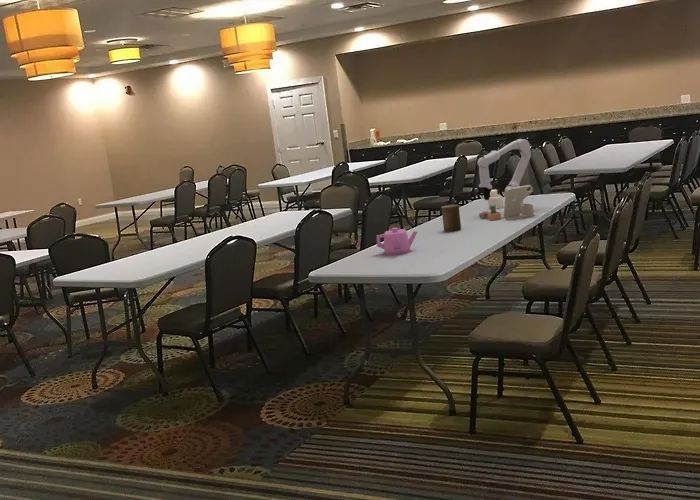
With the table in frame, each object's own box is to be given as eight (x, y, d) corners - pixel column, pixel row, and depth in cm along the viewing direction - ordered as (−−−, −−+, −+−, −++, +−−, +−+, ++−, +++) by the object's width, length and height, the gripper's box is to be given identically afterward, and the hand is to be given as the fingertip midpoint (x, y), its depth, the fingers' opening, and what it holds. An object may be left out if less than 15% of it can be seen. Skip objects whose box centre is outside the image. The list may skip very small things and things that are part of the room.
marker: (498, 217, 420) (496, 204, 419) (493, 218, 419) (491, 205, 418) (494, 217, 423) (493, 204, 422) (490, 218, 422) (488, 205, 421)
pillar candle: (460, 230, 399) (458, 203, 397) (443, 232, 401) (440, 205, 399) (461, 227, 408) (459, 201, 406) (444, 229, 411) (441, 203, 408)
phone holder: (527, 213, 425) (525, 183, 421) (535, 215, 415) (533, 184, 412) (500, 218, 421) (497, 188, 418) (507, 220, 411) (504, 189, 408)
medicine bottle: (493, 207, 468) (491, 188, 466) (503, 206, 463) (501, 188, 461) (488, 209, 462) (486, 190, 460) (499, 208, 458) (497, 190, 456)
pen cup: (496, 218, 424) (496, 211, 423) (500, 219, 419) (500, 212, 418) (488, 219, 423) (487, 212, 422) (491, 220, 418) (491, 213, 417)
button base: (488, 216, 434) (487, 211, 433) (492, 217, 428) (491, 212, 428) (479, 218, 433) (479, 213, 432) (483, 219, 427) (482, 214, 427)
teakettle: (396, 247, 376) (393, 224, 374) (421, 248, 364) (418, 224, 361) (373, 255, 365) (370, 231, 362) (398, 256, 352) (395, 231, 350)
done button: (487, 215, 432) (486, 211, 432) (489, 216, 429) (489, 211, 428) (481, 216, 432) (481, 211, 431) (484, 217, 428) (483, 212, 428)
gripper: (473, 177, 441) (476, 199, 443) (483, 179, 427) (485, 201, 429) (484, 176, 442) (486, 198, 444) (494, 177, 428) (496, 200, 431)
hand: (486, 199), depth 437 cm, fingers closed
